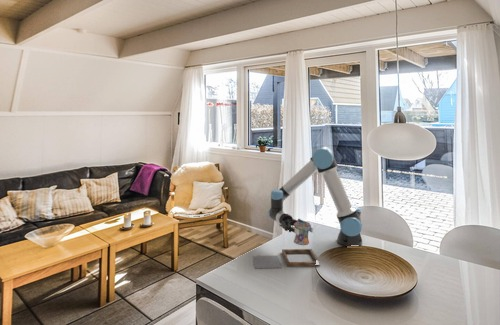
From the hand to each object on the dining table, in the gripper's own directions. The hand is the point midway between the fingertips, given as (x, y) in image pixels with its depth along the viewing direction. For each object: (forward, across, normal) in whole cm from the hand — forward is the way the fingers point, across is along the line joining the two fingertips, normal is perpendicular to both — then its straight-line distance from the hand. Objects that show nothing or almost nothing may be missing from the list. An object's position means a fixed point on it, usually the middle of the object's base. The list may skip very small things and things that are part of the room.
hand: (305, 231), depth 156 cm
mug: (-5, 0, -8) cm, 9 cm away
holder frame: (-5, 0, -18) cm, 18 cm away
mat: (-8, +19, -18) cm, 27 cm away
